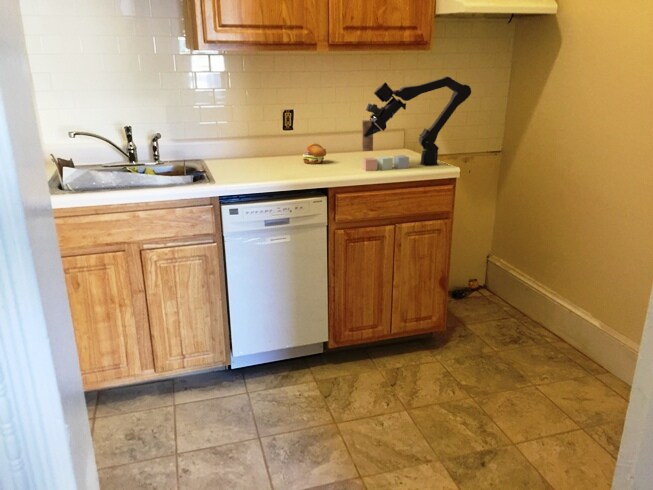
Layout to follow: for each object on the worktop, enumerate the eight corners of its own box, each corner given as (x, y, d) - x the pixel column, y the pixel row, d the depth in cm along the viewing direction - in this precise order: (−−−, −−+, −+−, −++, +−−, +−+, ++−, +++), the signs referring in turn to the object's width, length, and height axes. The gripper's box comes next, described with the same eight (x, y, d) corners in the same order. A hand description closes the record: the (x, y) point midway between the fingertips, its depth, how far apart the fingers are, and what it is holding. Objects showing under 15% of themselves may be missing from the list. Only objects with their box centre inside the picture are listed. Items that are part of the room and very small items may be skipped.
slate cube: (403, 166, 248) (404, 155, 246) (408, 168, 243) (409, 157, 242) (393, 166, 247) (393, 155, 245) (398, 169, 242) (398, 157, 240)
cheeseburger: (309, 159, 265) (313, 139, 261) (327, 166, 261) (332, 146, 257) (297, 162, 257) (301, 142, 253) (316, 170, 253) (320, 149, 248)
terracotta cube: (373, 168, 244) (373, 157, 242) (376, 170, 239) (376, 159, 237) (362, 169, 243) (362, 157, 241) (365, 171, 238) (365, 159, 236)
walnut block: (371, 149, 250) (372, 120, 246) (372, 150, 246) (373, 121, 242) (362, 149, 250) (362, 120, 246) (362, 151, 246) (363, 121, 242)
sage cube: (386, 167, 246) (386, 156, 244) (392, 169, 242) (392, 157, 240) (376, 168, 244) (376, 157, 242) (382, 170, 240) (382, 158, 238)
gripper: (374, 95, 249) (350, 120, 253) (379, 98, 232) (353, 125, 235) (391, 112, 252) (367, 137, 255) (397, 117, 234) (371, 143, 238)
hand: (364, 135), depth 246 cm, fingers closed on walnut block, 4 cm apart
